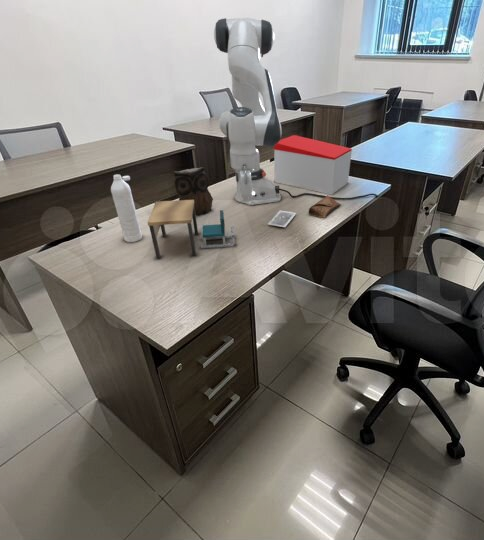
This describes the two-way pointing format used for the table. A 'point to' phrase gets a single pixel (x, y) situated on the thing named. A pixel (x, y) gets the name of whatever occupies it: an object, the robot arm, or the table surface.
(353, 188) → the table surface
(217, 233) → the chair
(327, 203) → the sunglasses case
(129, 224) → the water bottle
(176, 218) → the desk
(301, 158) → the red-lidded white box
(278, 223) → the deck of cards
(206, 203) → the owl
